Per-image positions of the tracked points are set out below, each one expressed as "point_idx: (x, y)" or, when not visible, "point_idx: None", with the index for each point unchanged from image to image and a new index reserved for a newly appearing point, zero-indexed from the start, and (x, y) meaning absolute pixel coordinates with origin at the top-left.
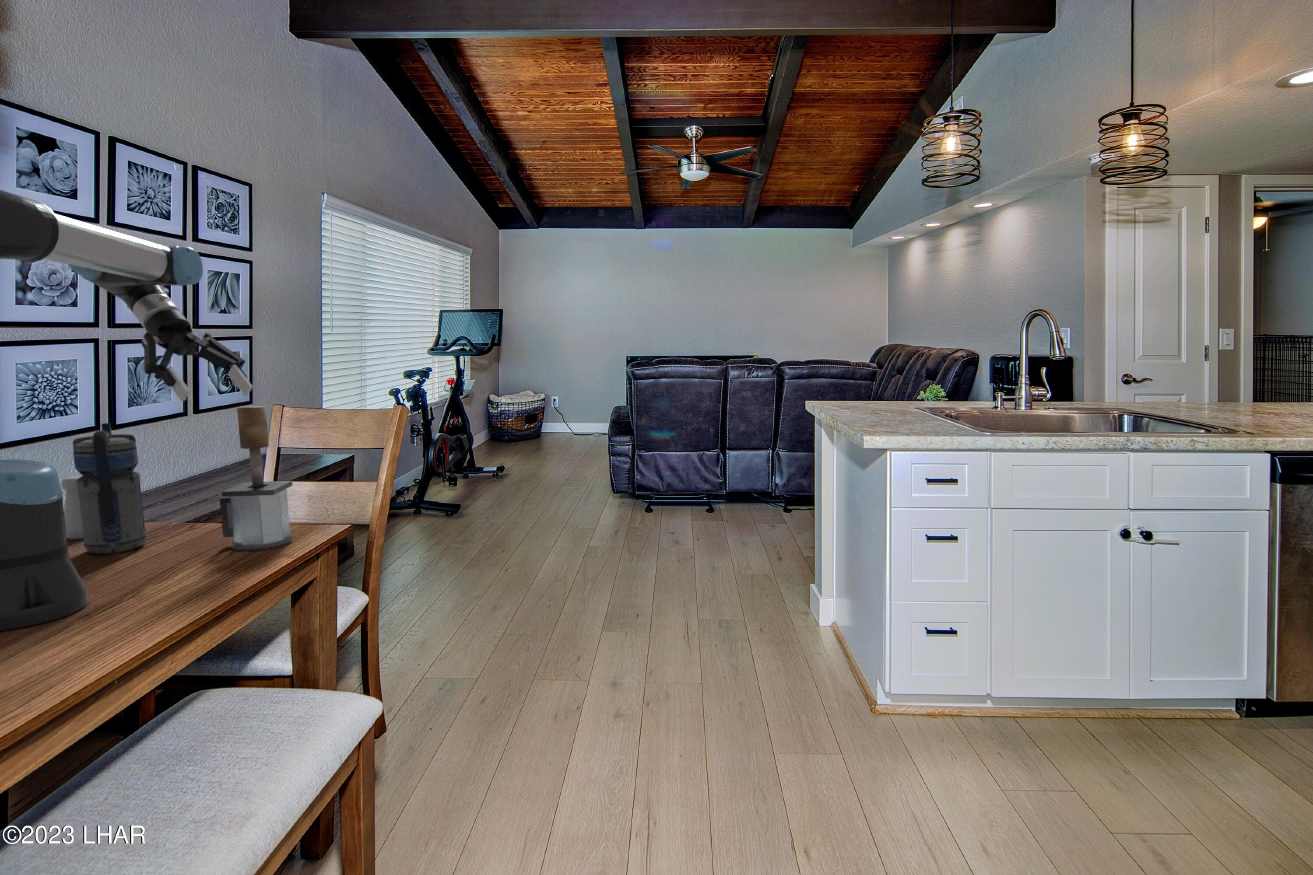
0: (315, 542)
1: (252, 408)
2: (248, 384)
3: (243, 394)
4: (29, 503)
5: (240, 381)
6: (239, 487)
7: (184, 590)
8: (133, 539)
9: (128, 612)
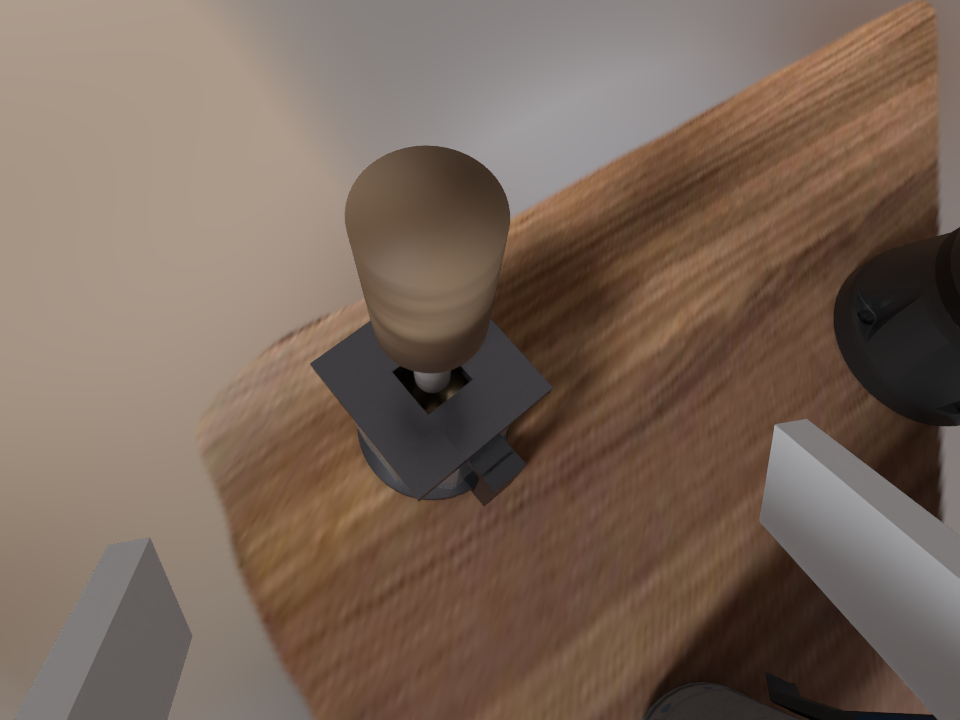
0: (355, 321)
1: (460, 153)
2: (133, 562)
3: (187, 650)
4: None
5: (117, 714)
6: (481, 409)
7: (694, 234)
8: (687, 689)
9: (792, 202)
